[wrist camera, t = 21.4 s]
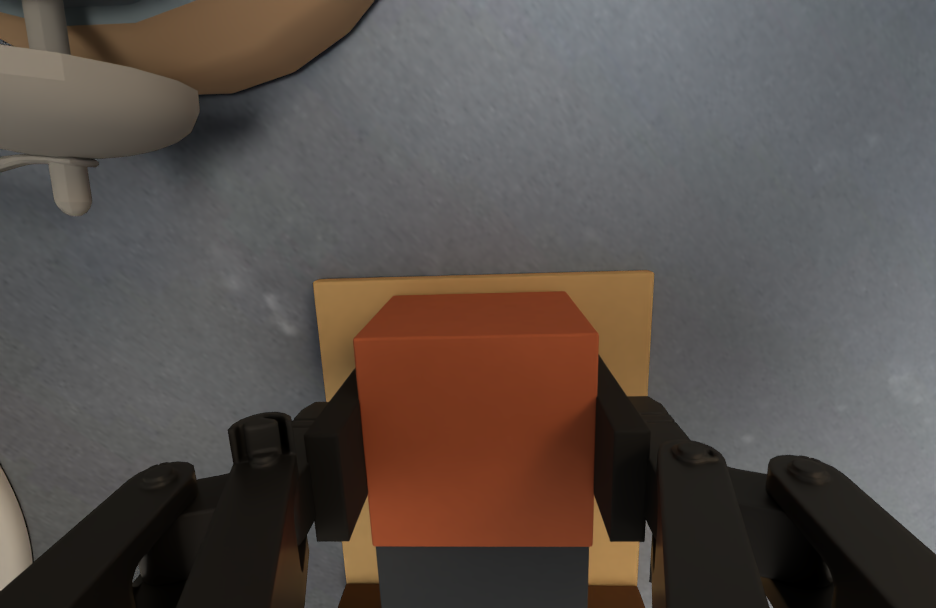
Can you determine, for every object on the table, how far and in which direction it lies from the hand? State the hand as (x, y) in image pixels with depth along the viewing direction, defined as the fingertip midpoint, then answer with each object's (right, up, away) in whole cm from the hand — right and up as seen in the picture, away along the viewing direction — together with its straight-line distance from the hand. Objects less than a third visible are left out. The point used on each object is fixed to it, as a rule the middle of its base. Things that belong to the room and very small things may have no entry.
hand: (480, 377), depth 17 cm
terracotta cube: (0, 0, 0) cm, 0 cm away
